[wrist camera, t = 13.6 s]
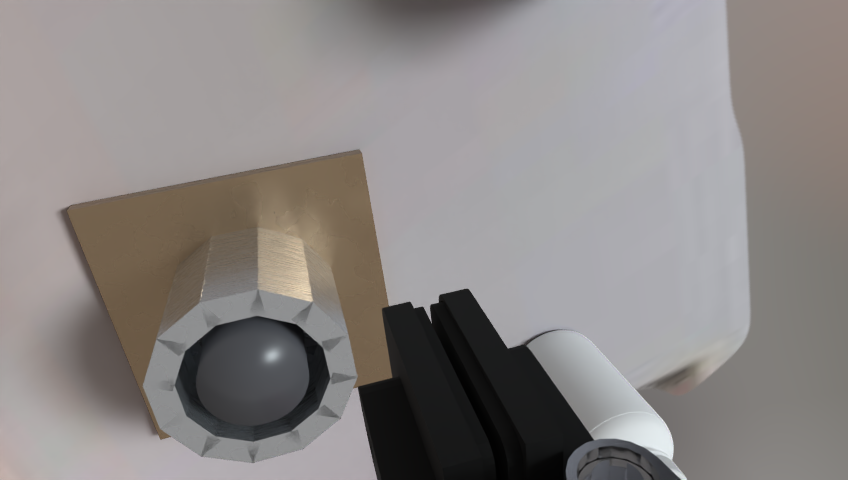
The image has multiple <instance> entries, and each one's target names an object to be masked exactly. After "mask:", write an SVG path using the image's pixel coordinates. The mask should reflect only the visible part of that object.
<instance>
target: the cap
mask: <svg viewBox="0 0 848 480" xmlns="http://www.w3.org/2000/svg"><path fill="white" fill-rule="evenodd" d="M308 383H309V369H308V362H307V354H306V347H305V339H304V332H303V329H302V328H300V327H299V326H298V325H297V324H293V323H289V322H284V321H280V320H275V319H270V318H266V317H261V316H254V317H250V318H245V319H241V320H237V321H233V322H228V323H224V324H220V325H216V326H215V327H213V328H212V329H211V330H210V331H209V332H207V333H206V334H205V335H204V336H203V339H202V345H201V352H200V358H199V364H198V371H197V377H196V389H197V393H198V396H199V399H200V401H201V402H202V404H203V405H204V407H205V408H206V409H207V410H208V411H209V412H210V413H211V414H213V415H214V416H215V417H217V418H219V419H221V420H223V421H225V422H228V423H231V424H236V425H244V426H254V425H261V424H266V423H269V422H272V421H275V420H277V419H279V418H281V417H283V416H285V415H287V414H288V413H289V412H291V411H292V410H293V409H294V408H295V407H296V406H297V405H298V404H299V403H300V401H301V400H302V398H303V397H304V395H305V393H306V391H307V387H308Z"/></svg>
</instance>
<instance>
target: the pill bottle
mask: <svg viewBox="0 0 848 480" xmlns="http://www.w3.org/2000/svg"><path fill="white" fill-rule="evenodd" d="M527 347H528V348H529V349H530V350H531V351H532V353H533V354H534V356H535V357H536V359H537V360H538V361H539V363H540V364H541V366H542V367H543V368H544V370H545V371H546V373H547V374H548V375H549V377H550V378H551V380H552V381H553V383H554V384H555V385H556V387H557V388H558V390H559V391H560V392H561V394H562V395H563V397H564V398H565V399H566V401H567V402H568V404H569V405H570V407H571V408H572V409H573V411H574V412H575V414H576V415H577V416H578V418H579V419H580V421H581V422H582V423H583V425H584V426H585V428H586V429H587V431H588V432H589V433H590V435H591V436H592V438H593V439H594V440H598V439H614V438H615V439H620V440H625V441H630V442H633V443H635V444H637V445H639V446H642V447H644V448H646V449H647V450H649V451H650V452H651V453H653V454H654V455H655V456H657V457H658V458H659V459H660V460H661V461H662V462H663V463H664V464H665V465H666V466H668V467H669V468H670V469H671V470H672V471H673V472H674V473H675V474H676V475H677V476H678V477H679V478H680V479H681V480H687V479H686V477H685V476H684V474H683V473H682V472H681V471H680V469H679V468H678V467H677V466H676V465H675V463H674V462H673V461H672V458H673V440H672V436H671V433H670V431H669V429H668V427H667V425H666V424H665V422H664V421H663V420H662V418H661V417H660V416H659V415H658V414H657V413H656V412H655V411H654V410H653V408H652V407H651V406H650V405H649V404H648V403H647V402H646V401H645V400H644V399H643V397H642V396H641V395H640V394H639V393H638V392H637V391H636V390H635V389H634V388H633V386H632V385H631V384H630V383H629V382H628V381H627V380H626V379H625V378H624V377H623V376H622V374H621V373H620V372H619V371H618V370H617V369H616V368H615V367H614V366H613V365H612V363H611V362H610V361H609V360H608V359H607V358H606V357H605V356H604V355H603V354H602V352H601V351H600V350H599V349H598V348H597V347H596V346H595V345H594V344H593V343H592V342H591V341H590V340H589V339H588V338H586V337H585V336H584V335H582V334H580V333H578V332H575V331H570V330H556V331H551V332H548V333H545V334H543V335H541V336H539V337H537V338H536V339H534V340H533V341H531V342H530V343H529V344H528V345H527Z"/></svg>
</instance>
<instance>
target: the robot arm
mask: <svg viewBox="0 0 848 480" xmlns="http://www.w3.org/2000/svg"><path fill="white" fill-rule="evenodd" d="M430 311H431V320H432V324H431V322H430V319H429V317H428V315H427V313H426V311H425V309H424V308H423V307H419V308H413V306H412V304H411V302H406V303H402V304H398V305H393V306H389V307H384V308H382V316H383V323H384V329H385V335H386V342H387V348H388V354H389V360H390V366H391V373H392V378H390V379H386V380H382V381H378V382H374V383H370V384H366V385H362V386H358V391H359V396H360V401H361V407H362V412H363V417H364V422H365V427H366V431H367V436H368V441H369V445H370V450H371V454H372V459H373V463H374V467H375V471H376V475H377V480H681V479H680V478H679V477H678V476H677V475H676V474H675V473H674V472H673V471H672V470H671V469H670V468H669V467H668V466H666V465H665V464H664V463H663V462H662V461H661V460H660V459H659V458H658V457H657V456H655V455H654V454H653V453H651V452H650V451H649V450H647V449H646V448H644V447H642V446H639V445H637V444H635V443H633V442H630V441H625V440H620V439H615V438H614V439H598V440H594V439H593V438H592V436H591V435H590V433H589V432H588V431H587V429H586V428H585V426H584V425H583V423H582V422H581V421H580V419H579V418H578V416H577V415H576V414H575V412H574V411H573V409H572V408H571V407H570V405H569V404H568V402H567V401H566V399H565V398H564V397H563V395H562V394H561V392H560V391H559V390H558V388H557V387H556V385H555V384H554V383H553V381H552V380H551V378H550V377H549V375H548V374H547V373H546V371H545V370H544V368H543V367H542V366H541V364H540V363H539V361H538V360H537V359H536V357H535V356H534V354H533V353H532V351H531V350H530V349H529V348H528V347H527V346H525V345H521V346H517V347H513V348H509V349H508V348H507V347H506V345H505V344H504V342H503V341H502V339H501V338H500V336H499V335H498V333H497V332H496V330H495V328H494V327H493V325H492V324H491V322H490V321H489V319H488V318H487V316H486V315H485V313H484V312H483V310H482V309H481V307H480V305H479V304H478V302H477V301H476V299H475V298H474V296H473V295H472V293H471V292H470V290H469V289H463V290H459V291H454V292H450V293H446V294H441V295H440V296H439V303H436V304H432V305H431V306H430Z"/></svg>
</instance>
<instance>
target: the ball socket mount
mask: <svg viewBox="0 0 848 480" xmlns="http://www.w3.org/2000/svg"><path fill="white" fill-rule="evenodd" d="M67 213H68V215H69V218H70V220H71V223H72V225H73V228H74V230H75V232H76V235H77V237H78V240H79V242H80V245H81V247H82V249H83V252H84V254H85V257H86V259H87V262H88V264H89V267H90V269H91V271H92V274H93V276H94V279H95V281H96V284H97V286H98V289H99V291H100V293H101V296H102V298H103V301H104V303H105V306H106V308H107V310H108V313H109V315H110V318H111V320H112V323H113V325H114V328H115V330H116V332H117V335H118V337H119V340H120V342H121V345H122V347H123V350H124V352H125V354H126V357H127V359H128V362H129V364H130V367H131V369H132V371H133V374H134V376H135V379H136V381H137V384H138V386H139V389H140V391H141V393H142V396H143V398H144V401H145V403H146V406H147V408H148V410H149V413H150V415H151V418H152V420H153V423H154V425H155V428H156V430H157V432H158V435H159V437H160V440H161V439H165V438H168V437H173V438H174V439H176V440H177V441H179V442H180V443H182V444H183V445H185V446H186V447H188V448H189V449H191V450H192V451H194V452H195V453H197V454H198V455H200V456H201V457H209V458H217V459H225V460H232V461H240V462H248V463H255V462H258V461H262V460H266V459H269V458H273V457H276V456H280V455H284V454H287V453H291V452H294V451H298V450H301V449H304V448H305V447H306V446H307V445H309V444H310V443H311V442H312V441H313V440H315V439H316V438H317V437H318V436H320V435H321V434H322V433H323V432H324V431H326V430H327V429H328V428H329V427H331V426H332V425H333V424H334V423H336V422H337V421H338V420H339V419H341V416H342V414H343V411H344V409H345V406H346V404H347V402H348V399H349V397H350V394H351V392H352V390H353V388H357V387H358V386H362V385H366V384H370V383H374V382H378V381H382V380H386V379H390V378H392V373H391V366H390V360H389V354H388V348H387V342H386V335H385V329H384V323H383V316H382V308H384V307H389V305H388V299H387V293H386V288H385V282H384V276H383V271H382V265H381V259H380V254H379V248H378V242H377V237H376V231H375V225H374V220H373V214H372V208H371V203H370V197H369V191H368V186H367V180H366V174H365V169H364V163H363V157H362V153H361V151H360V150H354V151H349V152H344V153H338V154H333V155H328V156H323V157H318V158H313V159H307V160H302V161H297V162H292V163H287V164H282V165H276V166H271V167H266V168H261V169H256V170H251V171H245V172H240V173H235V174H230V175H225V176H220V177H214V178H209V179H204V180H199V181H194V182H189V183H183V184H178V185H173V186H168V187H163V188H158V189H152V190H147V191H142V192H137V193H132V194H127V195H121V196H116V197H111V198H106V199H101V200H96V201H90V202H85V203H80V204H75V205H71V206H70V207H69V208H68V210H67ZM254 316H261V317H266V318H270V319H275V320H280V321H284V322H289V323H293V324H297V325H298V326H299V327H300V328H302V329H303V332H304V339H305V347H306V354H307V362H308V369H309V383H308V387H307V391H306V393H305V395H304V397H303V398H302V400H301V401H300V403H299V404H298V405H297V406H296V407H295V408H294V409H293V410H292V411H291V412H289V413H288V414H287V415H285V416H283V417H281V418H279V419H277V420H275V421H272V422H269V423H266V424H261V425H254V426H244V425H236V424H231V423H228V422H225V421H223V420H221V419H219V418H217V417H215V416H214V415H213V414H211V413H210V412H209V411H208V410H207V409H206V408H205V407H204V405H203V404H202V402H201V401H200V399H199V396H198V393H197V389H196V377H197V371H198V364H199V358H200V352H201V345H202V339H203V336H204V335H205V334H206V333H207V332H209V331H210V330H211V329H212V328H213V327H215V326H216V325H220V324H224V323H228V322H233V321H237V320H241V319H245V318H250V317H254Z"/></svg>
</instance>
